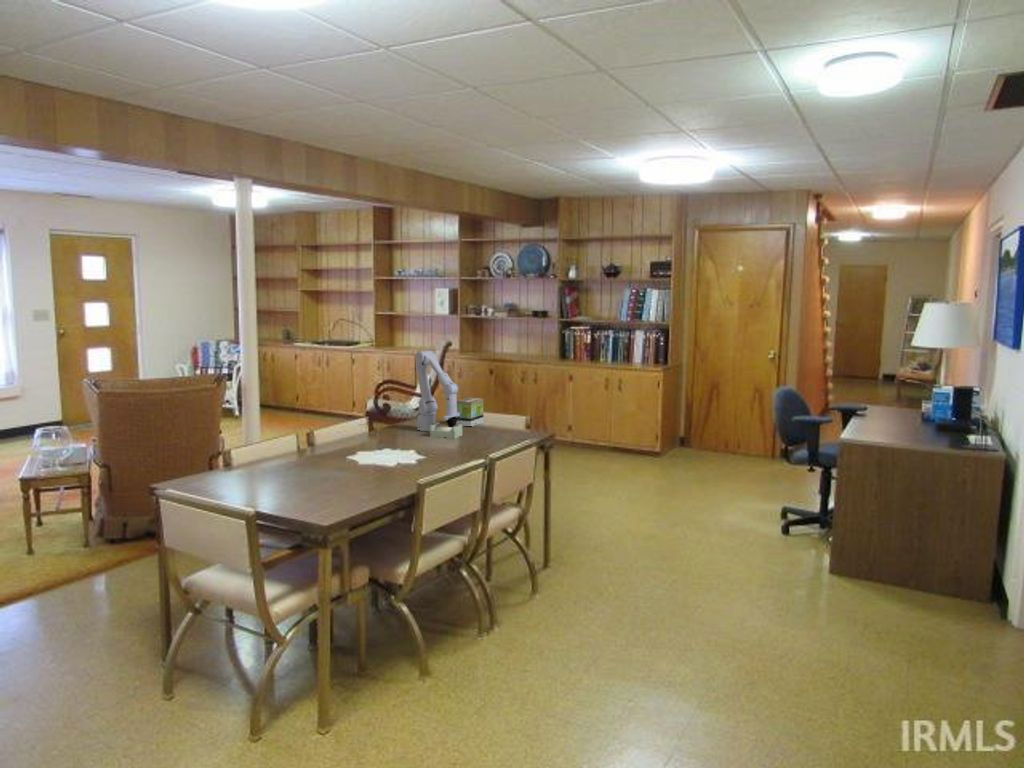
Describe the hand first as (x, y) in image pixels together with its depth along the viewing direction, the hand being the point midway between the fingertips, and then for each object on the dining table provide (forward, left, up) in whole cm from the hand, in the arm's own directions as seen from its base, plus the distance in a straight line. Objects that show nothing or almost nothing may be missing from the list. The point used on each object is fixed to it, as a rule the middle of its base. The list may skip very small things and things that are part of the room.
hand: (452, 431), depth 391 cm
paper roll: (0, -7, +1) cm, 7 cm away
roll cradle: (0, -7, -1) cm, 7 cm away
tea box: (-3, +27, -2) cm, 28 cm away
